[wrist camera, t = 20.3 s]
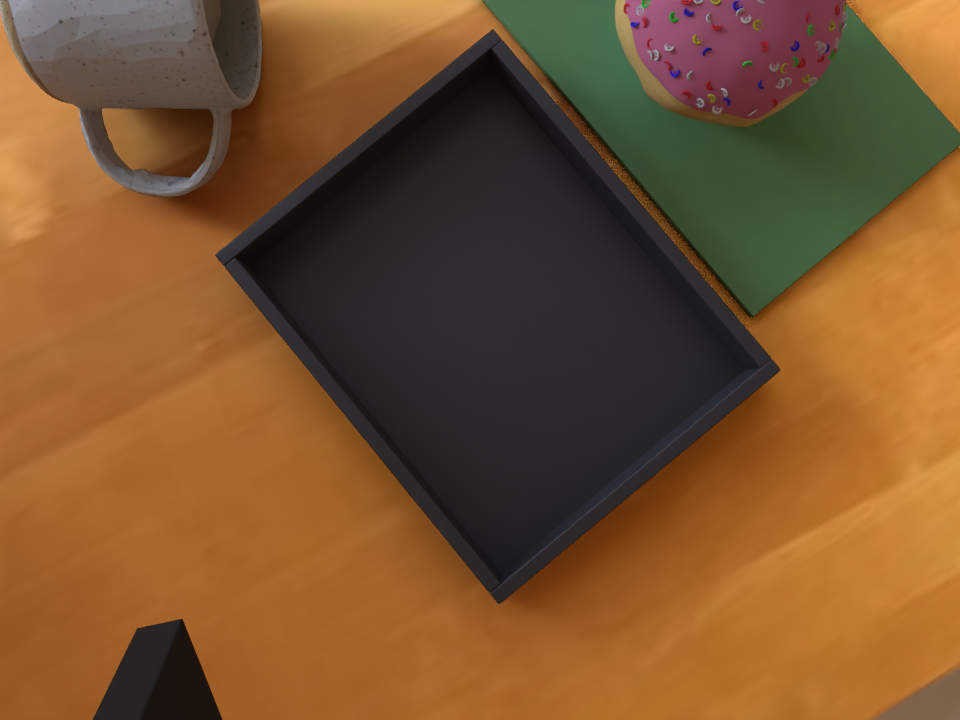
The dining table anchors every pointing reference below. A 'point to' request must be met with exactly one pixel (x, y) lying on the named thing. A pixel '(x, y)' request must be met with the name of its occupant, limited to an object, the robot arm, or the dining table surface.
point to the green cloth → (747, 146)
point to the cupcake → (729, 53)
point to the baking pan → (497, 315)
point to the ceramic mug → (141, 67)
